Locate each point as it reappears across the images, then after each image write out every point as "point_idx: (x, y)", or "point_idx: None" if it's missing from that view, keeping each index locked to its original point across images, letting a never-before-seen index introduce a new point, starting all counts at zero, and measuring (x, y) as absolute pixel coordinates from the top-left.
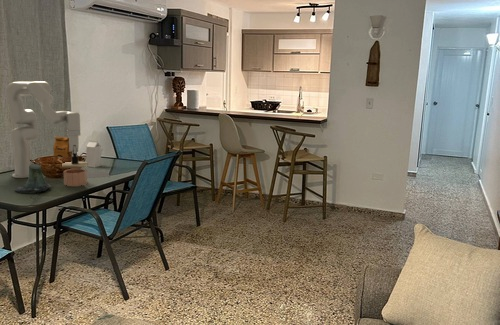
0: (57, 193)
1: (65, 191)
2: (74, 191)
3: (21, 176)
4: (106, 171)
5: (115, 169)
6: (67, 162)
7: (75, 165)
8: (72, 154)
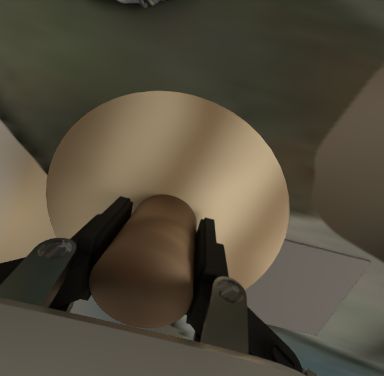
0: (17, 23)
1: (49, 78)
2: (40, 119)
3: None
4: (315, 332)
5: (332, 363)
6: (258, 181)
7: (79, 202)
8: (12, 271)
